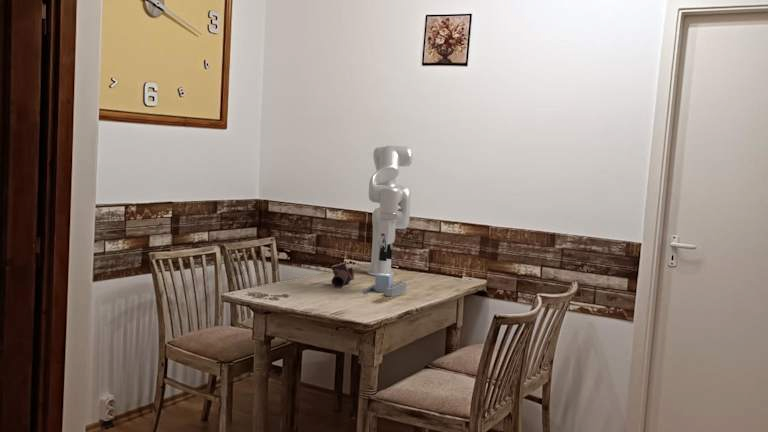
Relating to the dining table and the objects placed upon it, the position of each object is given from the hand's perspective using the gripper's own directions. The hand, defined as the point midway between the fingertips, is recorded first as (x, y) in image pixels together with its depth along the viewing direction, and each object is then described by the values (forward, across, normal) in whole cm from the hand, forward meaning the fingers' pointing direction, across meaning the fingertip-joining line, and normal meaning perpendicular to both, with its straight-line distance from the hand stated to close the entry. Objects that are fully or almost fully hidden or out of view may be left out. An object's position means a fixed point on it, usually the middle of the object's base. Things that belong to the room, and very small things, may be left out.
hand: (385, 259), depth 324 cm
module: (+14, 0, 0) cm, 14 cm away
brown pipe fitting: (+14, -2, -20) cm, 24 cm away
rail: (+14, 0, 0) cm, 14 cm away
